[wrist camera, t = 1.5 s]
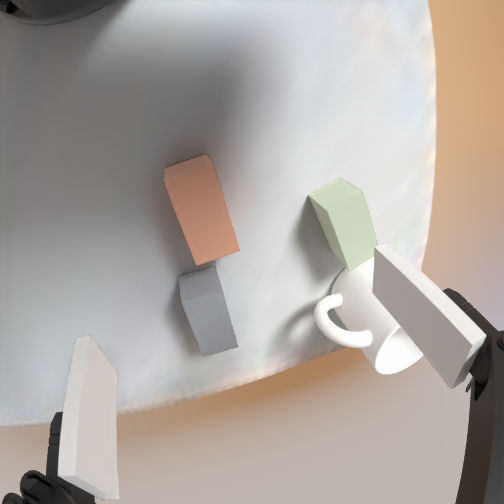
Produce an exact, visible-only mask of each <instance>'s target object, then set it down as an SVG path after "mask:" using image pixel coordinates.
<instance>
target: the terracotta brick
mask: <svg viewBox="0 0 504 504" xmlns="http://www.w3.org/2000/svg"><path fill="white" fill-rule="evenodd" d="M164 184H165V187H166V189H167V192H168V195H169V197H170V200H171V203H172V205H173V208H174V210H175V213H176V216H177V218H178V221H179V223H180V226H181V228H182V231H183V234H184V236H185V239H186V241H187V244H188V246H189V249H190V251H191V254H192V256H193V259H194V261H195V263H196V266H198V265H201V264H204V263H206V262H209V261H212V260H215V259H218V258H221V257H223V256H226V255H229V254H232V253H235V252H238V251H240V249H239V246H238V243H237V239H236V236H235V233H234V230H233V227H232V223H231V220H230V217H229V214H228V210H227V207H226V204H225V201H224V198H223V194H222V191H221V188H220V185H219V181H218V178H217V175H216V171H215V168H214V165H213V163H212V162H211V160H210V158H209V157H208V155H207V154H204V155H201V156H198V157H195V158H192V159H189V160H186V161H184V162H181V163H178V164H175V165H172V166H170V167H167V168H164Z"/></svg>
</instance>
